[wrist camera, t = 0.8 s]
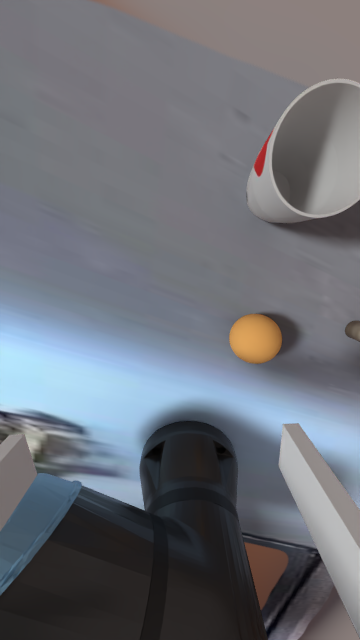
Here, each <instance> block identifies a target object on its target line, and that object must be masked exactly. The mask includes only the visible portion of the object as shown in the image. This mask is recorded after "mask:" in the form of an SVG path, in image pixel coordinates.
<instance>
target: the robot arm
mask: <svg viewBox="0 0 360 640" xmlns="http://www.w3.org/2000/svg"><path fill="white" fill-rule="evenodd" d="M279 468H280V470H281V472H282V475H283V477H284V479H285V481H286V483H287V485H288V487H289V489H290V492H291V494H292V496H293V498H294V500H295V502H296V504H297V506H298V509H299V511H300V513H301V515H302V517H303V519H304V521H305V523H306V526H307V528H308V530H309V532H310V534H311V536H312V538H313V541H314V543H315V545H316V547H317V549H318V551H319V553H320V555H321V558H322V560H323V562H324V564H325V566H326V568H327V570H328V572H329V575H330V577H331V579H332V581H333V583H334V585H335V587H336V589H337V591H338V594H339V596H340V598H341V600H342V602H343V604H344V606H345V608H346V611H347V613H348V615H349V617H350V619H351V621H352V624H353V626H354V628H355V630H356V632H357V634H358V636H359V638H360V510H359V508H358V507H357V505H356V504H355V503H354V501H353V500H352V498H351V497H350V496H349V494H348V493H347V491H346V490H345V489H344V487H343V486H342V484H341V483H340V481H339V480H338V479H337V477H336V476H335V474H334V473H333V472H332V470H331V469H330V467H329V466H328V465H327V463H326V462H325V460H324V459H323V457H322V456H321V455H320V453H319V452H318V450H317V449H316V448H315V446H314V445H313V443H312V442H311V441H310V439H309V438H308V436H307V435H306V433H305V432H304V431H303V429H302V428H301V426H300V425H299V424H298V423H297V424H283V429H282V438H281V447H280V456H279ZM237 477H238V466H237V460H236V456H235V453H234V449H233V446H232V444H231V442H230V441H229V439H228V438H227V437H226V436H225V435H224V434H223V433H222V432H221V431H220V430H218V429H216V428H215V427H213V426H210V425H208V424H205V423H200V422H193V421H184V422H177V423H173V424H170V425H167V426H165V427H163V428H161V429H159V430H158V431H156V432H155V433H154V434H153V435H152V436H151V437H150V438H149V439H148V441H147V442H146V444H145V446H144V448H143V451H142V456H141V461H140V480H141V487H142V494H143V501H144V507H145V511H144V510H142V509H139V508H137V507H134V506H132V505H129V504H127V503H124V502H122V501H119V500H117V499H114V498H112V497H109V496H107V495H104V494H102V493H99V492H97V491H94V490H92V489H89V488H87V487H84V486H82V484H81V482H79V481H73V482H70V481H67V480H64V479H61V478H58V477H55V476H52V475H49V474H45V473H39V474H37V472H36V469H35V466H34V463H33V460H32V456H31V453H30V450H29V447H28V444H27V441H26V438H25V435H24V434H21V435H9V436H8V437H7V438H6V439H5V440H4V441H3V442H2V443H1V444H0V640H268V638H267V634H266V630H265V626H264V622H263V618H262V614H261V610H260V606H259V602H258V598H257V594H256V589H255V586H254V582H253V577H252V573H251V569H250V565H249V561H248V557H247V553H246V549H245V545H244V540H243V536H242V532H241V528H240V524H239V520H238V515H237V511H236V497H237Z"/></svg>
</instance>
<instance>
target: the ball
mask: <svg viewBox="0 0 360 640" xmlns="http://www.w3.org/2000/svg"><path fill="white" fill-rule="evenodd" d="M229 340H230V345H231V348H232V350H233V351H234V353H235V354H236V355H237V356H238V357H239V358H240V359H242V360H244V361H246V362H249V363H254V364H259V363H264V362H267V361H269V360H271V359H272V358H274V357H275V356H276V354H277V353H278V352H279V350H280V348H281V344H282V335H281V331H280V329H279V327H278V325H277V324H276V323H275V322H274V321H273V320H272V319H270V318H269V317H267V316H265V315H261V314H249V315H246V316H243V317H241V318H240V319H238V320H237V321H236V322H235V323H234V325H233V326H232V328H231V331H230V336H229Z"/></svg>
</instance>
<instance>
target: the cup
mask: <svg viewBox="0 0 360 640" xmlns="http://www.w3.org/2000/svg"><path fill="white" fill-rule="evenodd" d="M358 200H360V83H358V82H355V81H352V80H348V79H331V80H326V81H323V82H320V83H318V84H315V85H313V86H312V87H310V88H308V89H307V90H305V91H304V92H302V93H301V94H300V95H299V96H298V97H297V98H296V99H295V100H294V101H293V102H292V103H291V104H290V105H289V106H288V108H287V109H286V110H285V112H284V113H283V115H282V116H281V118H280V120H279V121H278V123H277V124H276V126H275V128H274V129H273V131H272V132H271V134H270V136H269V137H268V139H267V141H266V142H265V144H264V145H263V147H262V149H261V150H260V152H259V154H258V156H257V159H256V161H255V164H254V166H253V169H252V171H251V174H250V176H249V179H248V183H247V204H248V207H249V209H250V211H251V212H252V213H253V214H254V215H255V216H257V217H258V218H260V219H262V220H264V221H267V222H273V223H296V222H302V221H307V220H312V219H318V218H323V217H328V216H332V215H335V214H338V213H340V212H342V211H344V210H346V209H348V208H349V207H351V206H352V205H354V204H355V203H356V202H357V201H358Z"/></svg>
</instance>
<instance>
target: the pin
mask: <svg viewBox="0 0 360 640" xmlns="http://www.w3.org/2000/svg"><path fill="white" fill-rule="evenodd" d="M345 333H346V335H347V336H348V337H350V338H353V339H355V340H357V341H359V342H360V321H352V322H350V323H349V324H348V325H347V326H346V328H345Z"/></svg>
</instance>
